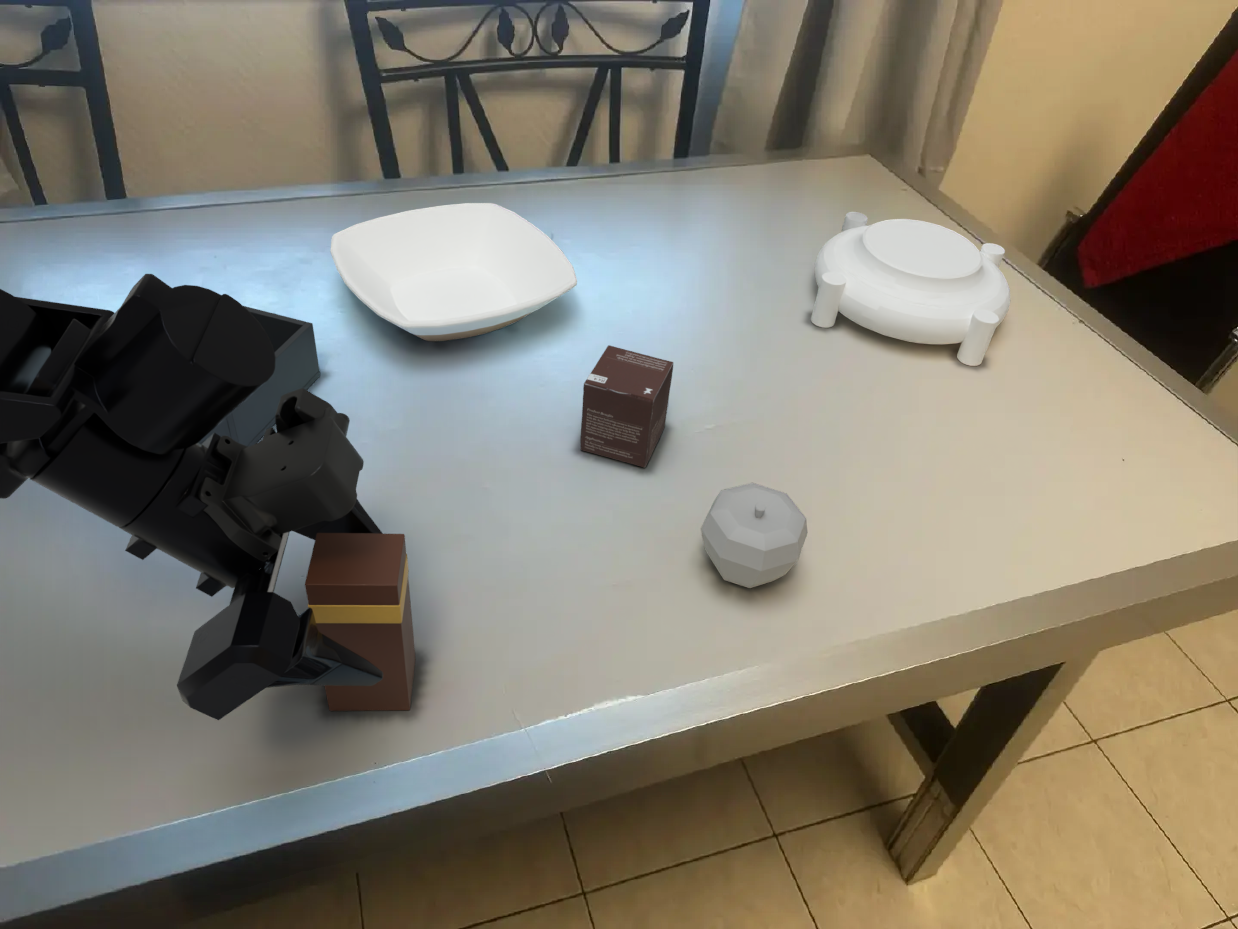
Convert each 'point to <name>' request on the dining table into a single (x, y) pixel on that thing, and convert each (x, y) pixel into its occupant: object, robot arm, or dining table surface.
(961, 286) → the round stand with pegs
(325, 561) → the chocolate carton
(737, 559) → the apple
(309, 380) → the open storage bin
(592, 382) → the box
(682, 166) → the dining table surface
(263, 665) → the robot arm
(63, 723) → the dining table surface
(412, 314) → the bowl
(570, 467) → the dining table surface
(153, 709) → the dining table surface
